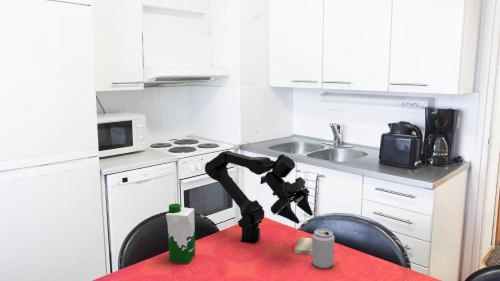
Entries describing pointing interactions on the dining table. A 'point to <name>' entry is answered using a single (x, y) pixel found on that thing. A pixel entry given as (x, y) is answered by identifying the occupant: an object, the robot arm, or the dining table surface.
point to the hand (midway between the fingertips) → (305, 219)
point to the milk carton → (181, 234)
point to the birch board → (304, 246)
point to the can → (323, 248)
